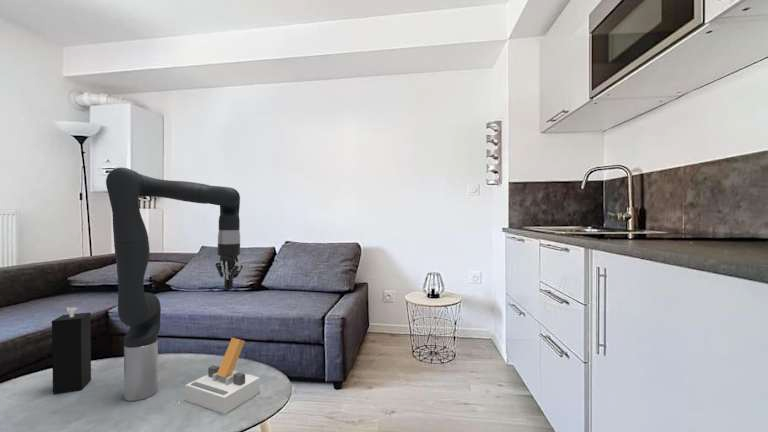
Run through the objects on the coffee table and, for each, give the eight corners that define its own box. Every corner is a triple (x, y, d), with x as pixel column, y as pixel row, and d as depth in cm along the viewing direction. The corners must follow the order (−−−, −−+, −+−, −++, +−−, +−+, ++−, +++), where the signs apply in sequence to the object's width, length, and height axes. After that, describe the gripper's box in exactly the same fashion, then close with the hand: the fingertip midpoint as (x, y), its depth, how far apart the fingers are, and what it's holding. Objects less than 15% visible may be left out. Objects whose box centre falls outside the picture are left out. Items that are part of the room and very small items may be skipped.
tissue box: (81, 390, 118) (80, 308, 118) (52, 395, 115) (51, 311, 115) (91, 380, 125) (90, 303, 125) (63, 384, 122) (63, 305, 122)
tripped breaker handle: (215, 377, 113) (231, 337, 119) (220, 378, 115) (236, 339, 121) (223, 380, 111) (240, 339, 117) (229, 381, 113) (245, 341, 119)
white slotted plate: (185, 400, 111) (185, 375, 111) (222, 381, 124) (222, 359, 124) (224, 414, 104) (224, 387, 103) (259, 392, 116) (259, 368, 116)
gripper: (249, 242, 126) (249, 289, 127) (226, 240, 133) (226, 285, 133) (231, 244, 120) (231, 293, 120) (208, 241, 126) (207, 289, 127)
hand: (228, 289), depth 127 cm, fingers closed
